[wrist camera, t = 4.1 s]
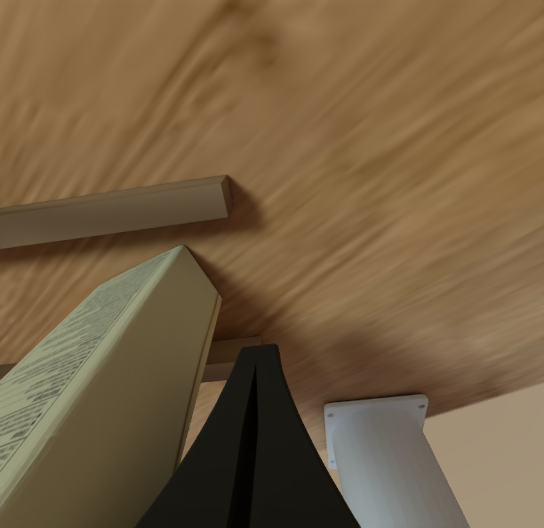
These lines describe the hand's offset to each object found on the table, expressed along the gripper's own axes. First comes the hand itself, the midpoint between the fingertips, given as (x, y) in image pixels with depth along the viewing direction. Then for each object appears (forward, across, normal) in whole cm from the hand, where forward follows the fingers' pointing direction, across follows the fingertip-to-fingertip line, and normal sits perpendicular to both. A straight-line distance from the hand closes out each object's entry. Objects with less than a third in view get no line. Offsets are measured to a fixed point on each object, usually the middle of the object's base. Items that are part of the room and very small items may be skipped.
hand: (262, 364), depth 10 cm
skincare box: (+7, +6, 0) cm, 9 cm away
